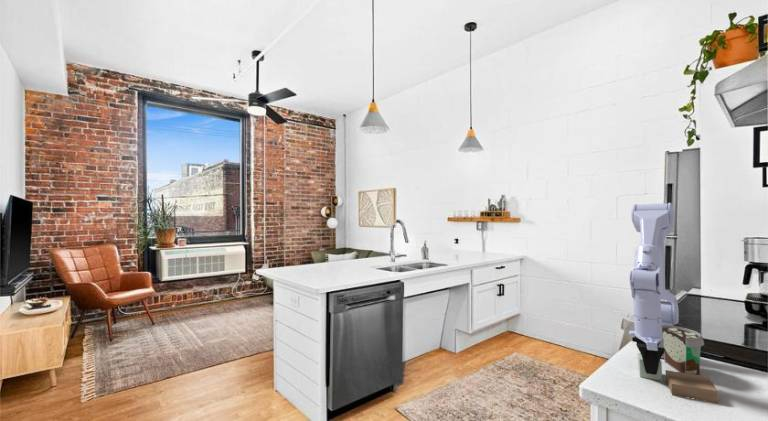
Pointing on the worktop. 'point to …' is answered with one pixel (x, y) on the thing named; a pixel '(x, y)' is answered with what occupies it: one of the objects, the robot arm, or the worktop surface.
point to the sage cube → (646, 375)
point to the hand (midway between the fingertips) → (649, 369)
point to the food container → (682, 349)
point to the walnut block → (691, 386)
